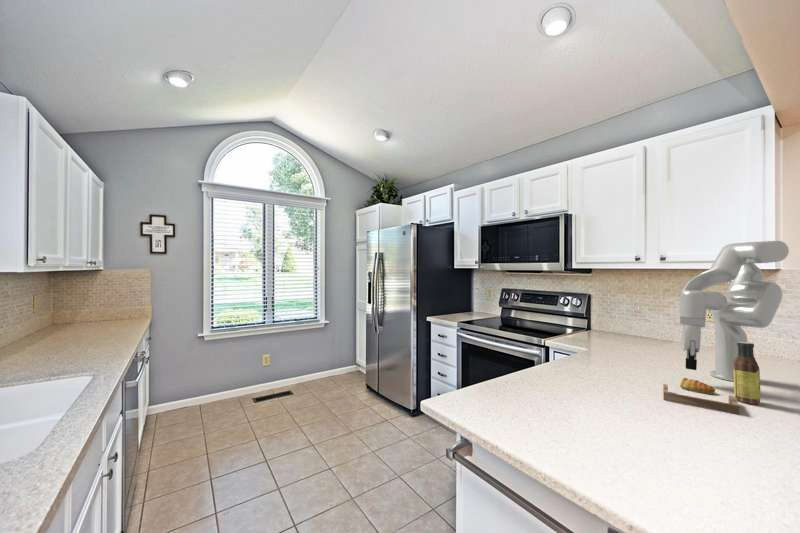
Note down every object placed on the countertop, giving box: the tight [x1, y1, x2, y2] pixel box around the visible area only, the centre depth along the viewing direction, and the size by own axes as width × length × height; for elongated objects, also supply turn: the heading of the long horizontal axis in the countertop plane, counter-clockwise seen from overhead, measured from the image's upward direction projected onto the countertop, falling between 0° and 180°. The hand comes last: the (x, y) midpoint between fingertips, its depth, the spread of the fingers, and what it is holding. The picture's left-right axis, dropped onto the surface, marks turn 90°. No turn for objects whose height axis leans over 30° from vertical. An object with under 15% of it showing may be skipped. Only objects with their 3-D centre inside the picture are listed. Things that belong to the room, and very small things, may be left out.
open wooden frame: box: [662, 383, 741, 415], centre depth 113 cm, size 11×18×2 cm, turn 52°
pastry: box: [679, 377, 716, 395], centre depth 124 cm, size 9×7×4 cm
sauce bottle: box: [733, 341, 761, 405], centre depth 114 cm, size 7×6×20 cm
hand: (690, 368), depth 132 cm, fingers closed
